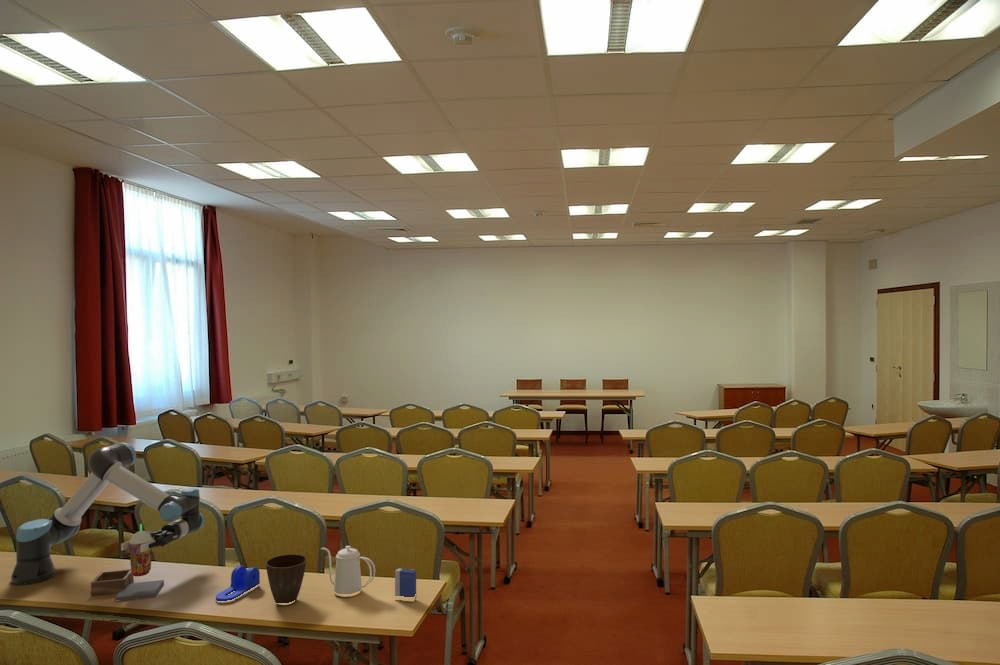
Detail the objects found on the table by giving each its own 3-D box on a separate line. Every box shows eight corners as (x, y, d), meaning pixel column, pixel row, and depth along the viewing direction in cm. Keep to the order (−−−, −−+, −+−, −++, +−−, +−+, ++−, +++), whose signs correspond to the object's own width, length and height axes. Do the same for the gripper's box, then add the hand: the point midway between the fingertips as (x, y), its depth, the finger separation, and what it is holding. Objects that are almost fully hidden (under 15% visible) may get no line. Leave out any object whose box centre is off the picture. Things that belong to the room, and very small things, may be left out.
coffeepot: (327, 584, 255) (327, 538, 256) (381, 591, 248) (381, 544, 248) (312, 594, 245) (312, 547, 245) (367, 602, 238) (367, 553, 238)
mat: (125, 587, 252) (125, 583, 252) (163, 583, 256) (163, 579, 256) (115, 601, 239) (115, 597, 239) (155, 596, 243) (155, 593, 243)
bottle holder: (101, 584, 256) (101, 572, 256) (133, 580, 259) (133, 568, 259) (90, 595, 244) (90, 582, 244) (124, 591, 248) (125, 579, 248)
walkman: (416, 599, 240) (416, 569, 240) (413, 602, 237) (413, 571, 237) (397, 597, 242) (397, 567, 242) (394, 600, 239) (394, 569, 239)
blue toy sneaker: (242, 584, 255) (242, 563, 255) (259, 587, 253) (259, 565, 253) (210, 602, 238) (211, 579, 238) (228, 605, 236) (228, 581, 236)
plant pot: (287, 591, 248) (287, 551, 248) (314, 598, 241) (314, 557, 241) (257, 605, 235) (257, 563, 235) (285, 613, 228) (285, 570, 228)
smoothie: (124, 576, 245) (123, 526, 245) (142, 569, 253) (142, 520, 253) (139, 579, 242) (139, 528, 242) (157, 571, 250) (157, 522, 250)
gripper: (195, 541, 263) (154, 559, 241) (153, 537, 268) (109, 555, 246) (195, 523, 263) (154, 540, 241) (153, 520, 268) (109, 536, 246)
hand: (131, 548), depth 243 cm, fingers closed on smoothie, 8 cm apart
